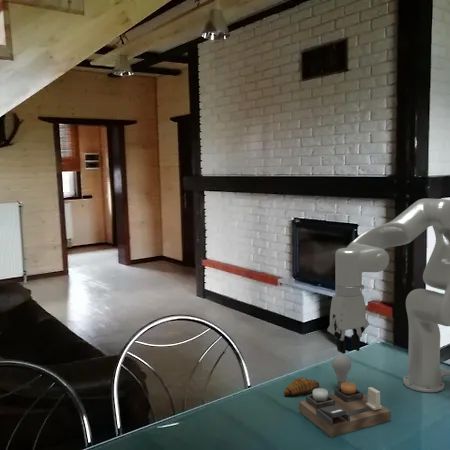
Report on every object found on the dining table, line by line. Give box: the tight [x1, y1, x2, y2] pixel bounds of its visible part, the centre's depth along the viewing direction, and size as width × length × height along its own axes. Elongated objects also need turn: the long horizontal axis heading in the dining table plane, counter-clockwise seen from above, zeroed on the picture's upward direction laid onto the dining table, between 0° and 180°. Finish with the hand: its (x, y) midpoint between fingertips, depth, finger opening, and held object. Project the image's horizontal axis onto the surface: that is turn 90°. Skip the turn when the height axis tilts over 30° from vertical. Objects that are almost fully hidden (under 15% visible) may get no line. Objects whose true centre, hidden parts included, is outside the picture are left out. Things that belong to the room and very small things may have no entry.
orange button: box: [341, 381, 357, 394], centre depth 150 cm, size 4×4×2 cm
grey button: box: [312, 387, 329, 401], centre depth 146 cm, size 4×4×2 cm
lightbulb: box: [331, 353, 352, 388], centre depth 163 cm, size 6×6×11 cm
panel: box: [298, 387, 392, 438], centre depth 145 cm, size 20×16×5 cm
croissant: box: [283, 377, 320, 397], centre depth 161 cm, size 14×7×5 cm, turn 119°
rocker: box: [320, 405, 346, 418], centre depth 138 cm, size 4×6×1 cm
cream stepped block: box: [366, 386, 383, 410], centre depth 143 cm, size 3×4×5 cm
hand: (348, 350), depth 149 cm, fingers open, 4 cm apart
